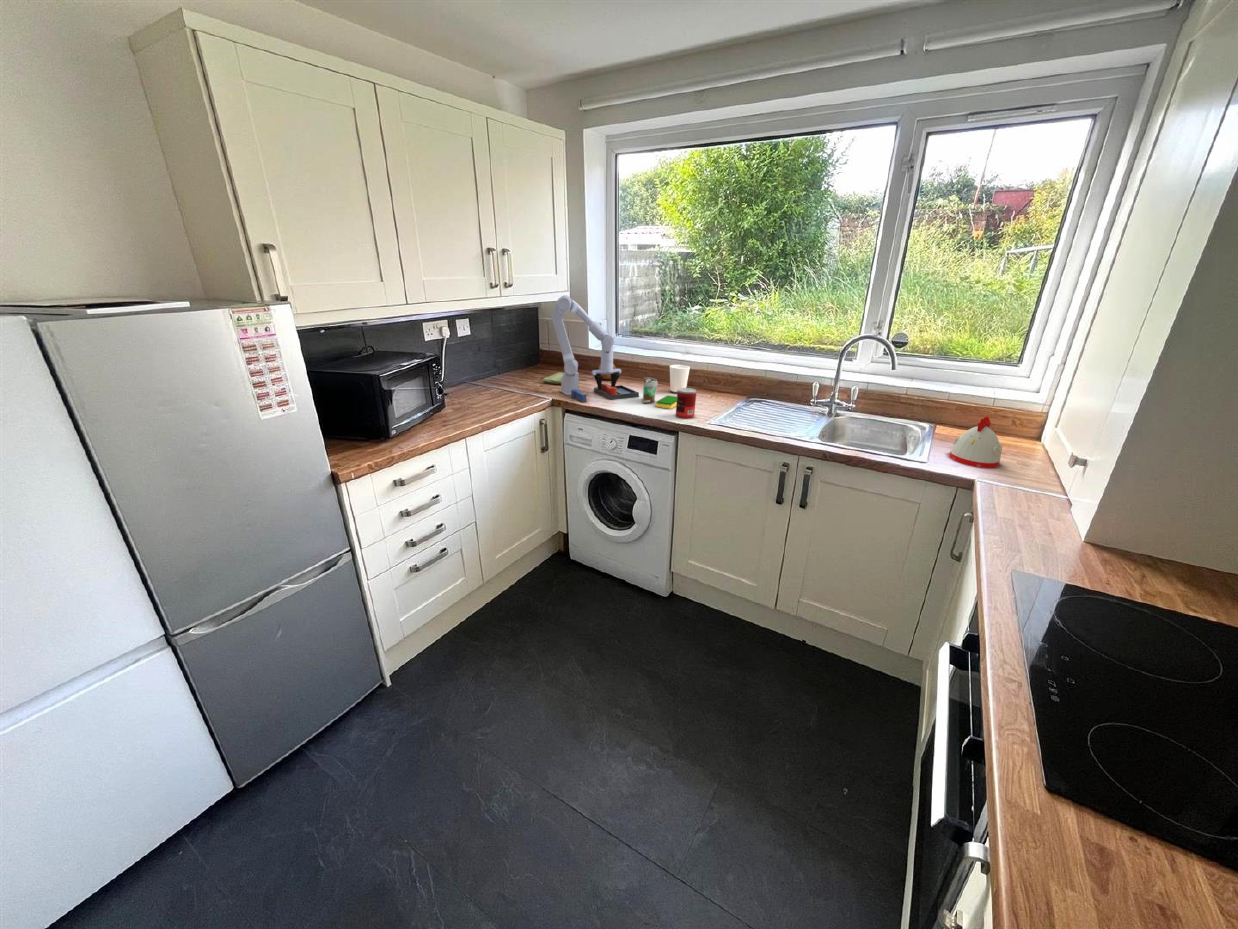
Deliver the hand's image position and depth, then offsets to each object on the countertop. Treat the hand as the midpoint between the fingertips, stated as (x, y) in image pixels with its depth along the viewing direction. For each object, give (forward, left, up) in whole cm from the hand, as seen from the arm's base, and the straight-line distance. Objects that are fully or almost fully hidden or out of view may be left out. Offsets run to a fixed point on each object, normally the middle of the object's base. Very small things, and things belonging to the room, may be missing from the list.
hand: (606, 389), depth 238 cm
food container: (+21, +12, -2) cm, 24 cm away
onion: (-28, +15, -2) cm, 32 cm away
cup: (+10, +35, -2) cm, 36 cm away
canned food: (+47, +13, -2) cm, 48 cm away
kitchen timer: (+129, +73, -2) cm, 148 cm away
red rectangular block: (+3, 0, -2) cm, 3 cm away
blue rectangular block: (+5, -16, -2) cm, 17 cm away
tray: (+3, +4, -2) cm, 5 cm away
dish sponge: (+29, +17, -2) cm, 33 cm away
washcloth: (-32, -10, -2) cm, 34 cm away
